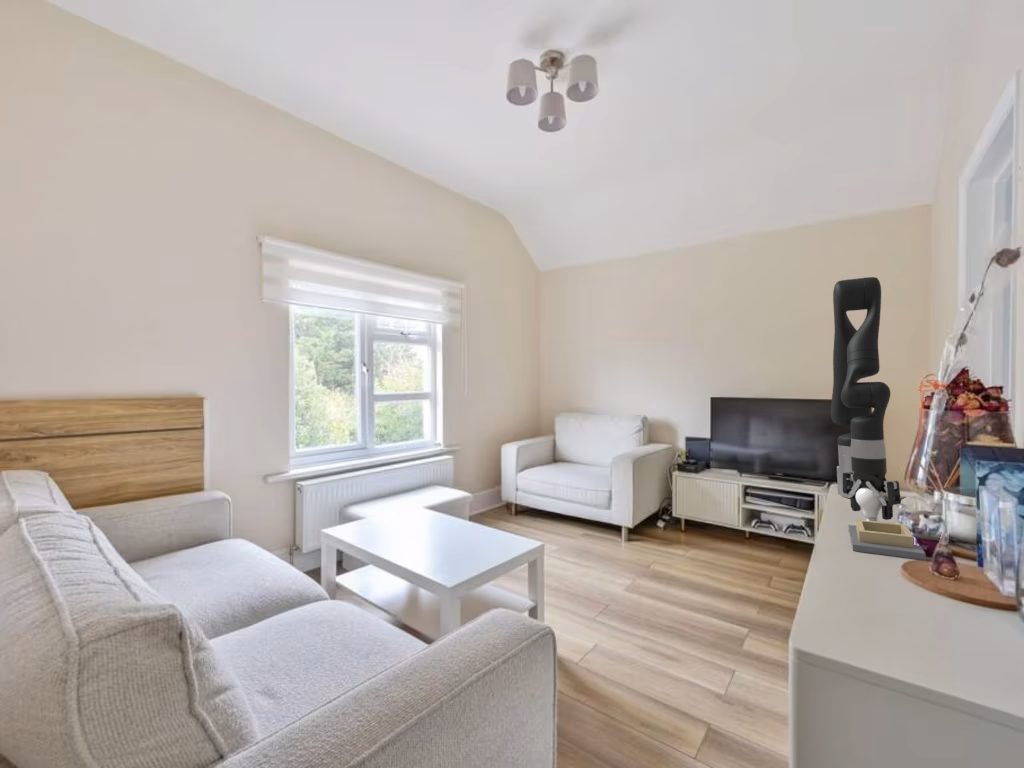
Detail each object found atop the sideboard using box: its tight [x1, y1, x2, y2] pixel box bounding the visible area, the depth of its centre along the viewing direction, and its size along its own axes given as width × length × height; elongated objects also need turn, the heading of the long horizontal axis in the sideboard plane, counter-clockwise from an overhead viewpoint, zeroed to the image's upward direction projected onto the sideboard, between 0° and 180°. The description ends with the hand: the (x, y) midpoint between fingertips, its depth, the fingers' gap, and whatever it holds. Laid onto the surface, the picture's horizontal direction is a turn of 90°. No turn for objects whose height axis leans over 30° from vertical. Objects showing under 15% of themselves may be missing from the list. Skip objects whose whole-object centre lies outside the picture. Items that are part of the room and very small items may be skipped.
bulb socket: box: [847, 519, 927, 561], centre depth 111 cm, size 16×13×4 cm
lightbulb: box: [855, 488, 883, 522], centre depth 123 cm, size 6×6×11 cm
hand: (871, 514), depth 123 cm, fingers open, 8 cm apart
